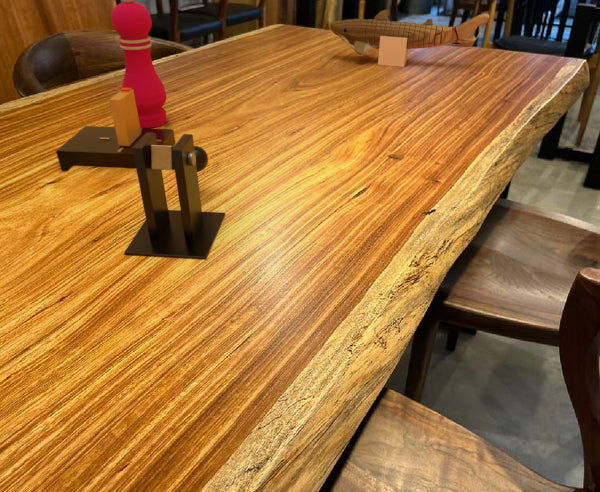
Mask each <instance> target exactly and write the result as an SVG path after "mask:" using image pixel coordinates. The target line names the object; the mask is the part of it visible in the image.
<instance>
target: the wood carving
mask: <svg viewBox="0 0 600 492" xmlns="http://www.w3.org/2000/svg"><path fill="white" fill-rule="evenodd" d="M390 11H391V10H390V9H383V10H381V11H379V12H378V13H377V14H376V15H375V16H374V17H373V18H369V19H365V18H363V19H362V18H353V19H352V18H351V19H349V18H347V19H338V20H333V21H331V22H330V24H329V27H330V30H331V32H332V33H333V34H334V35H335V36H337V37H340V39H341V41H343V42H345V43H346V44H347V45H348V46H349V47H350V48H351V49H353V51H355V53H357V54H358V55H360V56H361V55H364V54H366V53H367V52H368V51H369V50H371V49H377V50H378V59H377V65H378V66H387V67H398V68H399V67H402V68H404V67H405V65H406V63H407V61H408V54H409V50H415V49H416V50H417V49H430V48H437V47H442V46H443V47H445V46H446V47H456V48H471V47H472V46H474V44H475V42H476V41H477V40H478V38H479V36H480V35H481V34H482V32H483V31H484V29H485V27H486V25H487V24H488V22H489V19H490V14H489V13H481V14H478V15H477V16H474V17H472V18H470V19H468V20H466V21H464V22H463V23H460V24H458V25H455V26H445V25H444V26H443V25H438V24H434V21H433V19H431V18H429V19H426V21H424V22H423V23H416V22H407V21H402V22H401V21H395V20H394V21H393V20H390ZM480 26H481V29H480V31H479V33H478V34H477V36H475V33H476V30H477V29H478V27H480ZM455 43H457V44H455Z"/></svg>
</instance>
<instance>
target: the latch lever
mask: <svg viewBox="0 0 600 492" xmlns="http://www.w3.org/2000/svg"><path fill="white" fill-rule="evenodd" d="M174 146H175V145H173V146H165V145H151V168H152V169H157V170H162V171H175V169H174V162H173V155H172V149H173V148H174ZM194 150H195V155H196V167H197V173H201V172H202V171H204V170H205V169H206V168H207V167H208V163H209V156H208V153H207V151H206V150H205V149H204V148H202V147H201V146H199V145H194Z"/></svg>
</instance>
